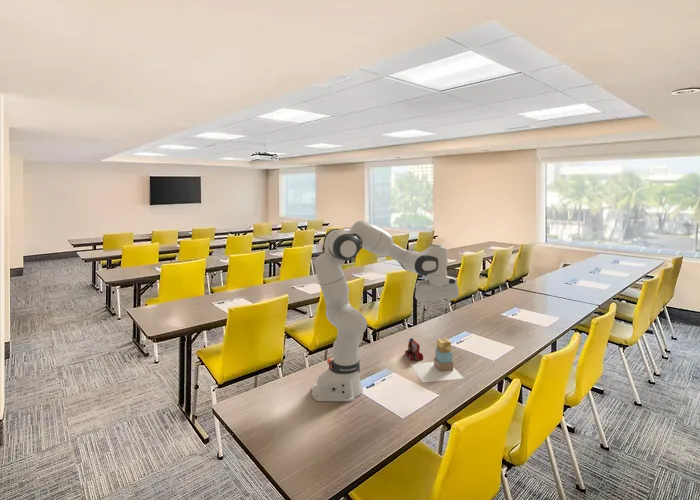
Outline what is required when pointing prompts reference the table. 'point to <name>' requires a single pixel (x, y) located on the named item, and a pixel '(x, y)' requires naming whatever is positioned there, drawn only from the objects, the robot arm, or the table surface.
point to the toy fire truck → (413, 351)
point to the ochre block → (444, 345)
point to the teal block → (443, 356)
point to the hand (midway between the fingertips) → (436, 308)
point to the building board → (436, 371)
